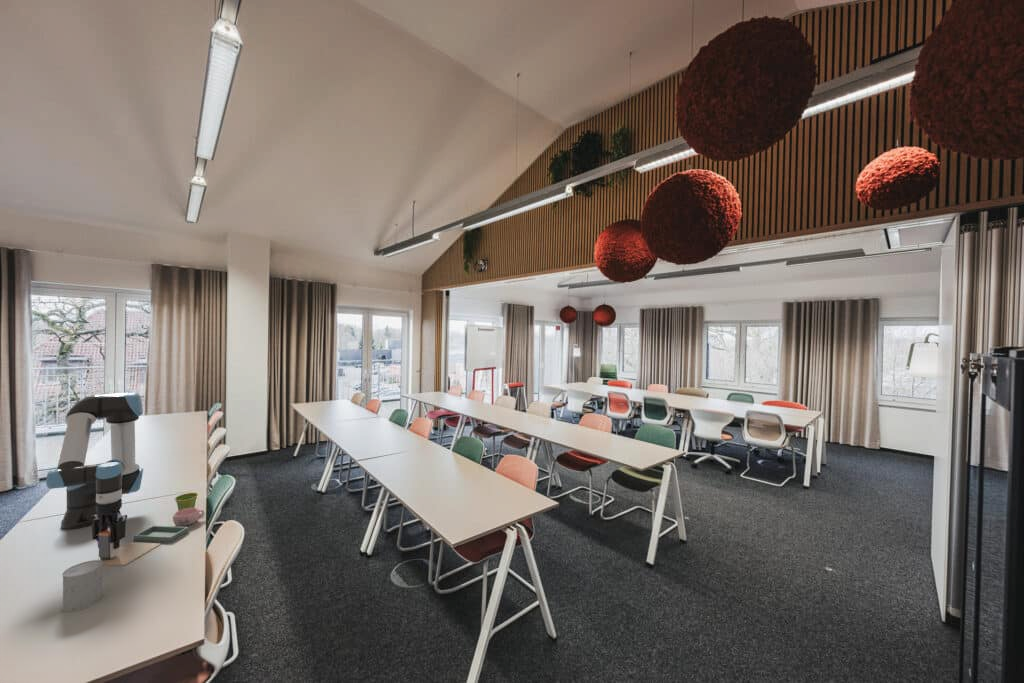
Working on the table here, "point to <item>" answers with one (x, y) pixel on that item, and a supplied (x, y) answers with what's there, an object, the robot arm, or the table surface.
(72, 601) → the grey stone cylinder
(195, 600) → the table surface
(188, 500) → the plant pot
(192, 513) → the mug
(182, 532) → the tray
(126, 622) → the table surface
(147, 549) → the tan board
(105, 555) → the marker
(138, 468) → the robot arm
